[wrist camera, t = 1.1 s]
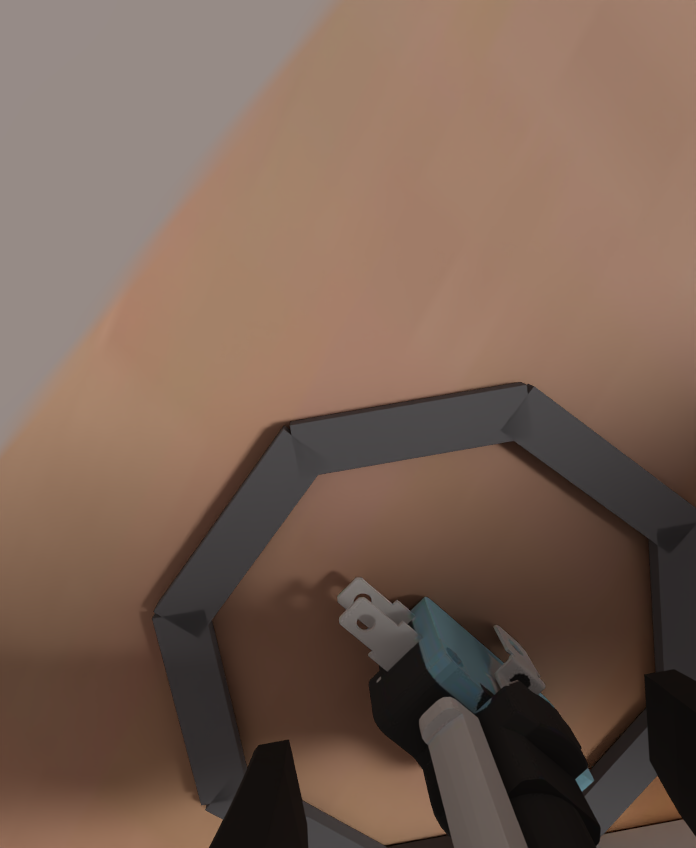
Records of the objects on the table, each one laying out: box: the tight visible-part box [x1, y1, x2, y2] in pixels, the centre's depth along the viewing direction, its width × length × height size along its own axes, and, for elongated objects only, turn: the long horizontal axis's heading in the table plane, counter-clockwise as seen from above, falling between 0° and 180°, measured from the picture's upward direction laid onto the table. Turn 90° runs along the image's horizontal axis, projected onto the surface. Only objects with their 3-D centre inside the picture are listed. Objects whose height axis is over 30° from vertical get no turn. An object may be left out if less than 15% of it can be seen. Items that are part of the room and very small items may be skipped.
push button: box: [337, 577, 601, 848], centre depth 10 cm, size 7×5×10 cm
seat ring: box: [152, 382, 696, 848], centre depth 15 cm, size 13×13×1 cm
